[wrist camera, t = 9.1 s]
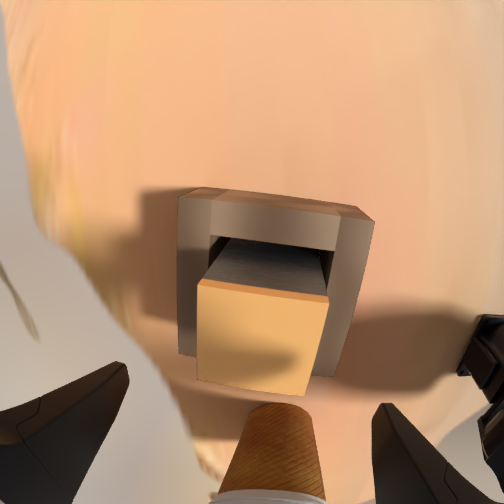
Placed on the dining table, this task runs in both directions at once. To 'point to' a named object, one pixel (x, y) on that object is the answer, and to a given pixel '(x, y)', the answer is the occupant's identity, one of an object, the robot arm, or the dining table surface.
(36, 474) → the robot arm
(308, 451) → the disposable coffee cup
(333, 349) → the socket block
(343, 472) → the dining table surface
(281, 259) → the steel peg
